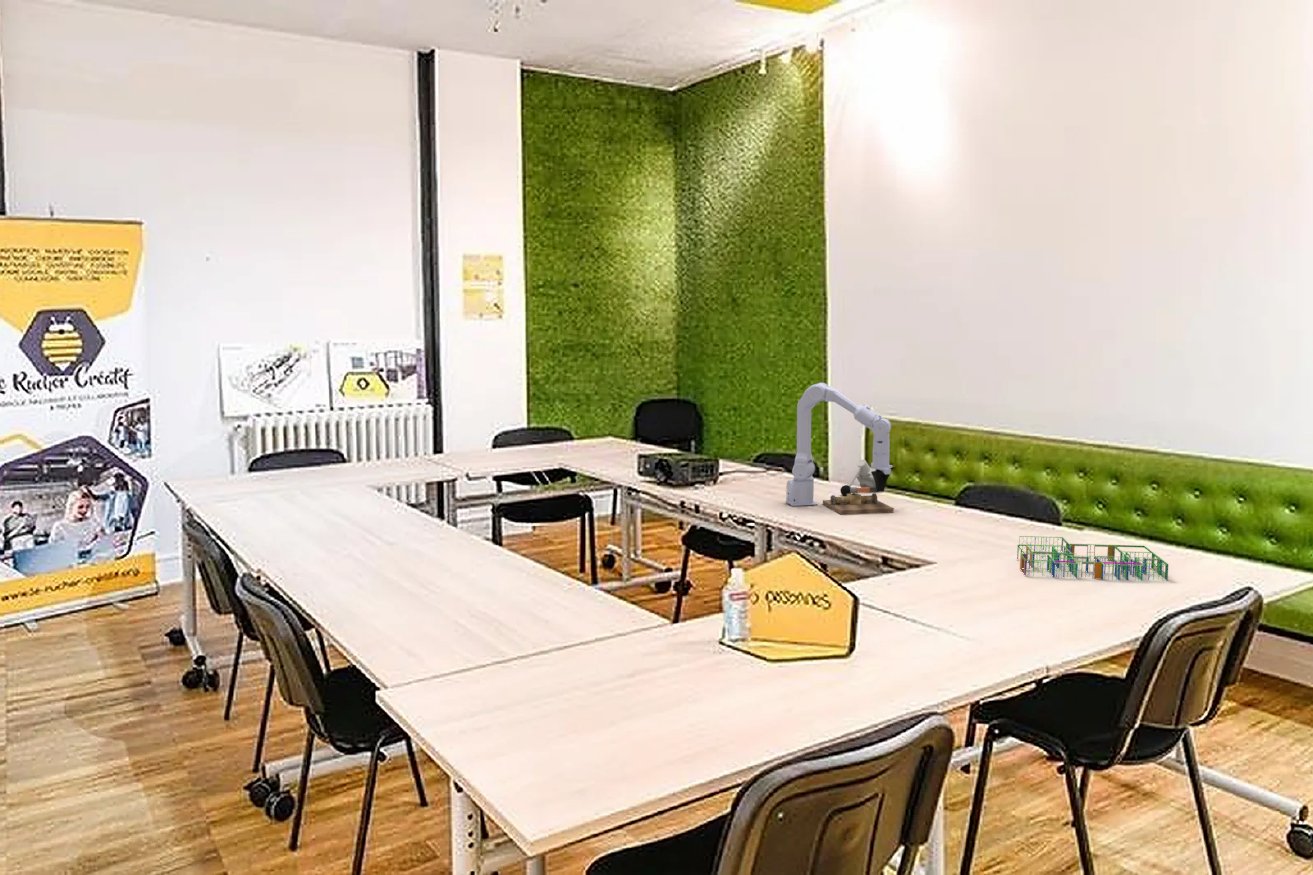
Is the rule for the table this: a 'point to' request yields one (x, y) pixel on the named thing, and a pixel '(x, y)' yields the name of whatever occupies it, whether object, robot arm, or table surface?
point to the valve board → (857, 504)
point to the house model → (1097, 565)
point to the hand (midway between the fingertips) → (880, 491)
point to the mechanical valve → (860, 477)
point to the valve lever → (863, 489)
